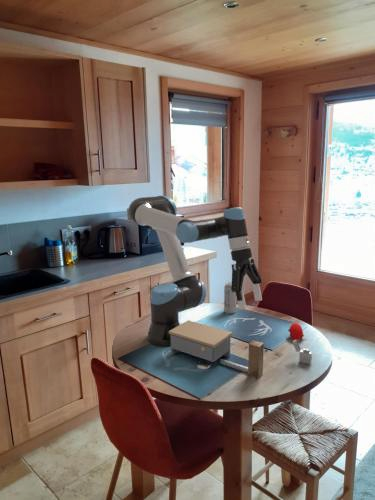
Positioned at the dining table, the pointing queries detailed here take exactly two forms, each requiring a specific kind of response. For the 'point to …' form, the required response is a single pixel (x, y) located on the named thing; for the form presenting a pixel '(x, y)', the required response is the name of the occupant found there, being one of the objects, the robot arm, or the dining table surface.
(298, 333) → the red egg shape
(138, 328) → the dining table surface
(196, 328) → the cabinet
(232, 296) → the energy drink can
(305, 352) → the lighter
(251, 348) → the blade tool
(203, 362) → the steel token
